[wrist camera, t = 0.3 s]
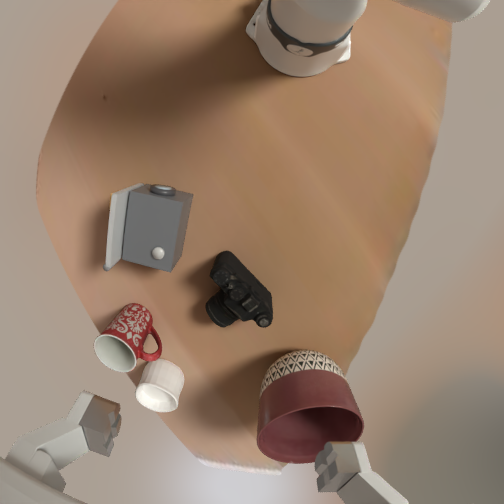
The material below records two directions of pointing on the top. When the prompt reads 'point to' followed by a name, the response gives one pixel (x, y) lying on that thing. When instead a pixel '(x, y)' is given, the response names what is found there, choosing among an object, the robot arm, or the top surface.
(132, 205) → the housing
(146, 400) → the cup
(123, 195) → the door
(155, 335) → the mug
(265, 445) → the planter
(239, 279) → the camera
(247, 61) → the top surface
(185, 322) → the top surface
